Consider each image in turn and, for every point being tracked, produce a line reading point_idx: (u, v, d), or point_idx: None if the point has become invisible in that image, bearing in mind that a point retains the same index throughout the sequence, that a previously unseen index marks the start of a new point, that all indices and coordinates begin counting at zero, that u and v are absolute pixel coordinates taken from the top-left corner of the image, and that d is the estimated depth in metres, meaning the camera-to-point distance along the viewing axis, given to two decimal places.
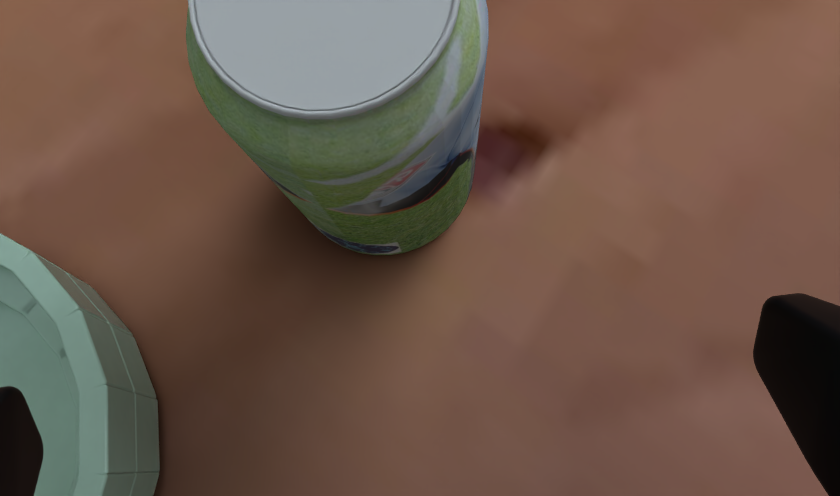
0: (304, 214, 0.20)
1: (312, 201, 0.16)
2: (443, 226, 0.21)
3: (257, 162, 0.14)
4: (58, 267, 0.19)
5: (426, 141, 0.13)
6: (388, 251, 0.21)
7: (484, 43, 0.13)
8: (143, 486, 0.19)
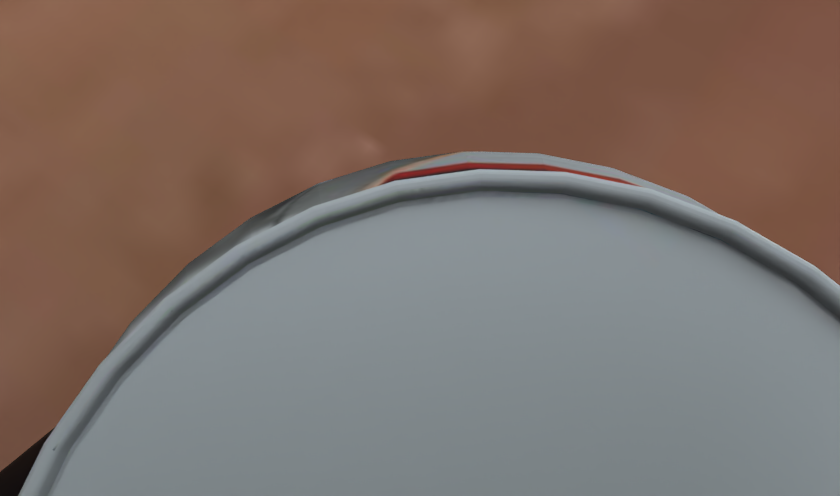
0: None
1: None
2: None
3: None
4: None
5: None
6: None
7: None
8: None
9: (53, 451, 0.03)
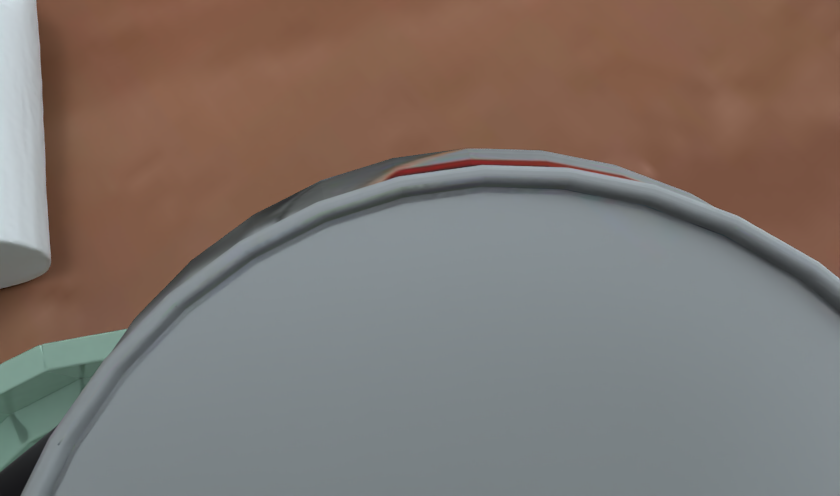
0: None
1: None
2: None
3: None
4: None
5: None
6: None
7: None
8: None
9: (58, 446, 0.03)
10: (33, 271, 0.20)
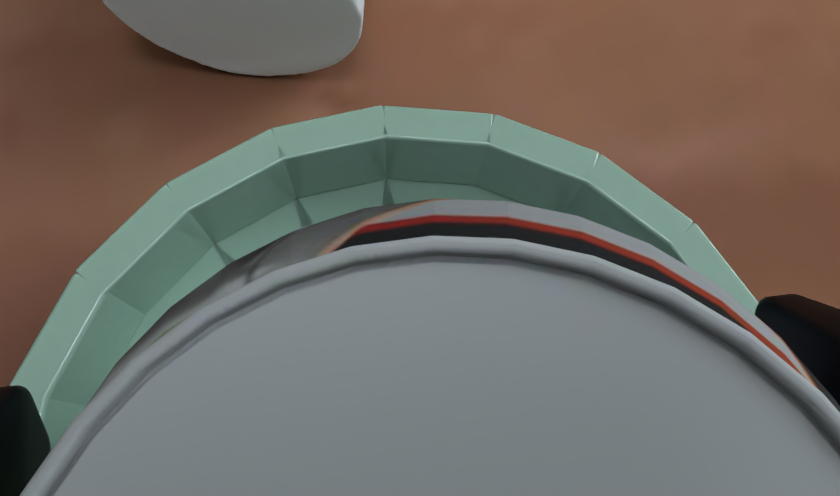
0: None
1: None
2: None
3: None
4: None
5: None
6: None
7: None
8: None
9: None
10: (327, 56, 0.17)
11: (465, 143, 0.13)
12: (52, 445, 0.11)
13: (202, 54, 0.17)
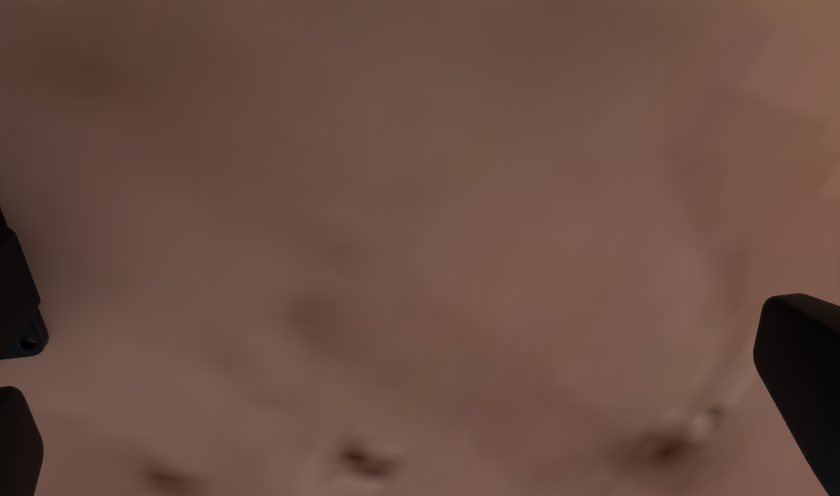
0: None
1: None
2: None
3: None
4: None
5: None
6: None
7: None
8: None
9: None
10: None
11: None
12: None
13: None
